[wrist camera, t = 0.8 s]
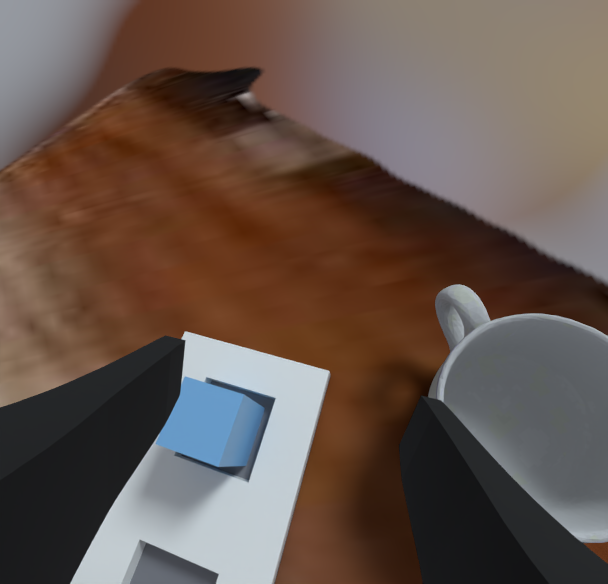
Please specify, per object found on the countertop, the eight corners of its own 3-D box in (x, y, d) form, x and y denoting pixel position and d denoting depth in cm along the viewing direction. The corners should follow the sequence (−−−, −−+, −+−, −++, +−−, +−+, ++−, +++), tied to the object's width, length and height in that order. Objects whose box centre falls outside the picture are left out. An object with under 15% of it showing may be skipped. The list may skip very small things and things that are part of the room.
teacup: (616, 496, 22) (748, 513, 15) (447, 537, 22) (497, 573, 15) (510, 300, 28) (566, 245, 21) (379, 332, 28) (390, 287, 21)
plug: (246, 466, 24) (218, 466, 19) (195, 447, 25) (155, 444, 20) (265, 408, 26) (244, 394, 21) (216, 393, 27) (184, 376, 22)
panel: (221, 781, 18) (211, 808, 17) (41, 676, 21) (19, 692, 20) (330, 375, 27) (329, 371, 26) (192, 337, 30) (185, 331, 28)
